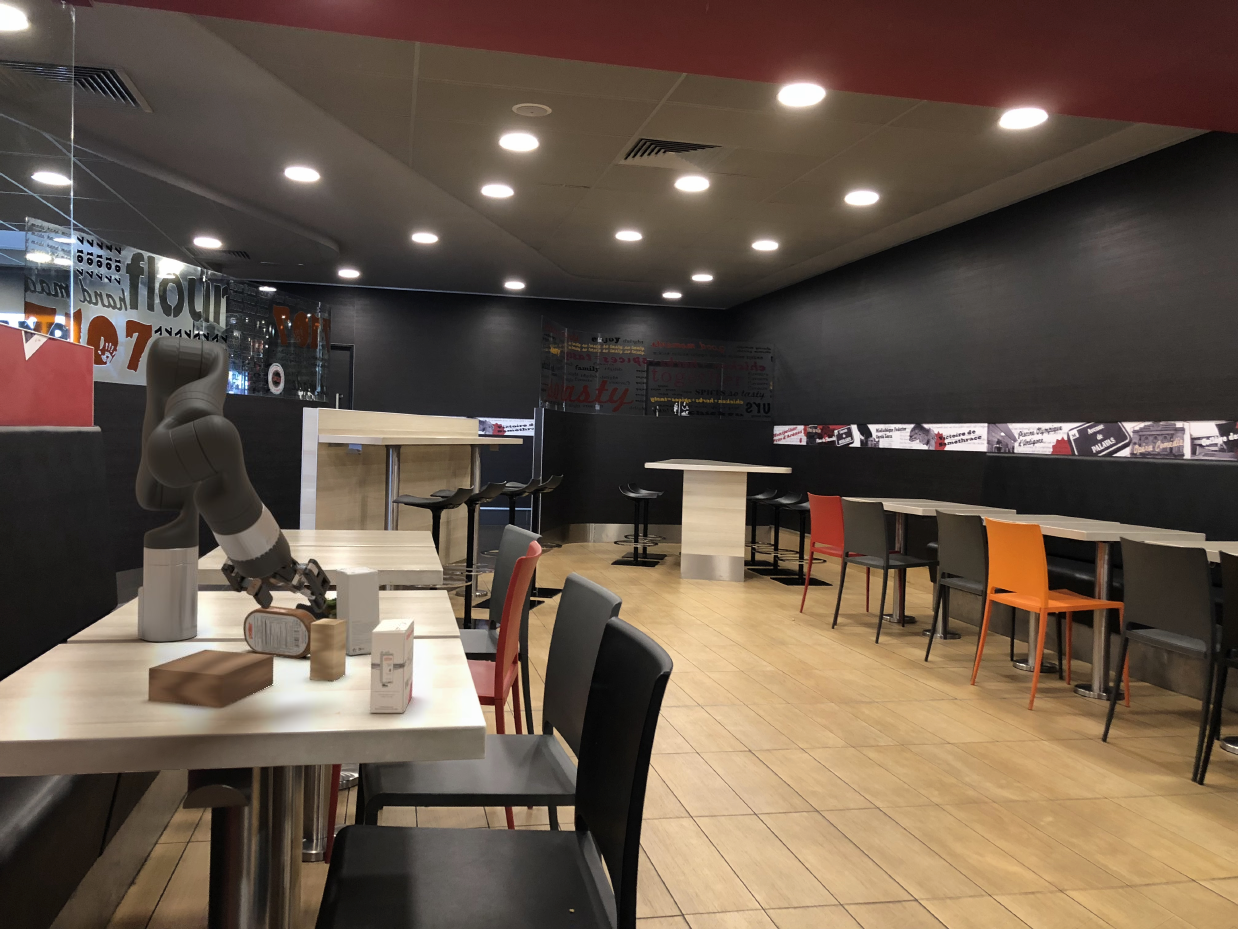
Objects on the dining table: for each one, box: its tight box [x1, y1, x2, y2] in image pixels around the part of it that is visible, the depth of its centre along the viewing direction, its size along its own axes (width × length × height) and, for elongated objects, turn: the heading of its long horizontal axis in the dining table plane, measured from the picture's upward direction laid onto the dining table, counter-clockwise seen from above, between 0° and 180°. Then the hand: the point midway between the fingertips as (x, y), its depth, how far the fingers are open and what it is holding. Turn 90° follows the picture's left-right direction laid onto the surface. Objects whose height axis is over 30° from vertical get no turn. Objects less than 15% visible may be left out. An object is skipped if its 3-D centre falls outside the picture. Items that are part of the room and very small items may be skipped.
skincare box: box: [335, 566, 380, 656], centre depth 155 cm, size 8×6×15 cm
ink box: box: [369, 618, 415, 714], centre depth 124 cm, size 9×5×12 cm, turn 5°
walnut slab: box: [147, 649, 275, 709], centre depth 127 cm, size 12×12×5 cm
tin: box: [242, 605, 316, 659], centre depth 150 cm, size 15×3×8 cm, turn 71°
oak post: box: [309, 619, 347, 682], centre depth 137 cm, size 4×4×9 cm
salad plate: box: [293, 597, 337, 621], centre depth 184 cm, size 19×18×5 cm
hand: (294, 605), depth 127 cm, fingers open, 8 cm apart
